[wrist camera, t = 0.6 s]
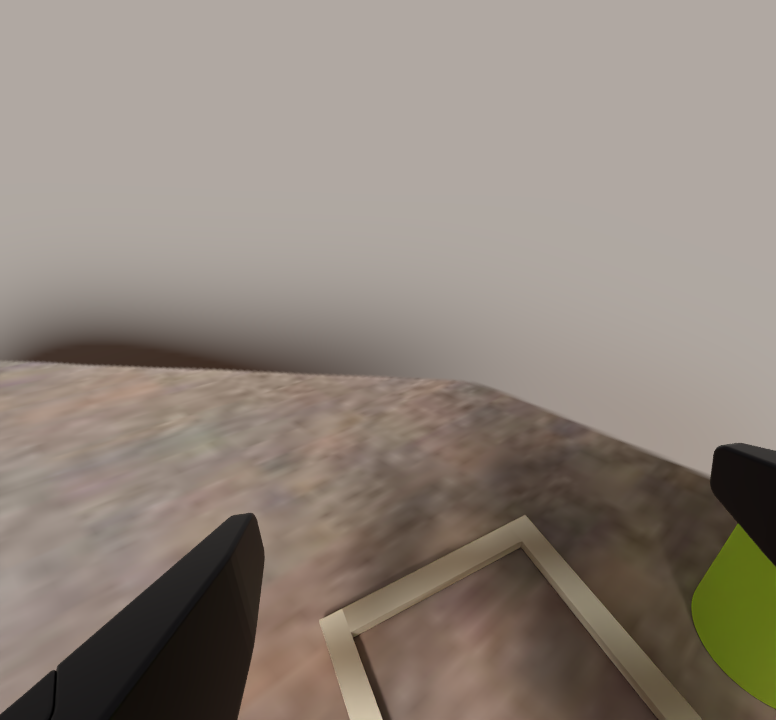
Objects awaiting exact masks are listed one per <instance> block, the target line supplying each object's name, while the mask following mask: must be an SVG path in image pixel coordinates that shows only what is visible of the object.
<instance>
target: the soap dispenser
mask: <svg viewBox="0 0 776 720" xmlns="http://www.w3.org/2000/svg"><path fill="white" fill-rule="evenodd" d="M691 609H692V617H693V622H694V625H695V628H696V631H697V633H698V635H699V637H700V639H701V641H702V643H703V645H704V646H705V648H706V650H707V651H708V653H709V654H710V655H711V657H712V658H713V659H714V661H715V662H716V663H717V664H718V665H719V667H720V668H721V669H722V670H723V671H724V672H725V673H726V674H727V675H728V676H729V677H730V678H731V679H732V680H733V681H734V682H736V683H737V684H738V685H739V686H740V687H742V688H743V689H744V690H745V691H747V692H748V693H749V694H751V695H752V696H754V697H755V698H757V699H758V700H760V701H762V702H763V703H765V704H767V705H769V706H771V707H773V708H775V709H776V567H775V566H774V565H773V564H772V562H771V561H770V560H769V559H768V558H767V557H766V556H765V554H764V553H763V552H762V551H761V550H760V549H759V547H758V546H757V545H756V544H755V543H754V541H753V540H752V539H751V538H750V537H749V536H748V534H747V533H746V532H745V531H744V530H743V528H742V527H741V526H740V525H739V524H737V525H736V527H735V529H734V530H733V532H732V533H731V535H730V536H729V538H728V540H727V541H726V543H725V544H724V546H723V547H722V549H721V550H720V552H719V554H718V555H717V557H716V558H715V560H714V561H713V563H712V565H711V566H710V568H709V569H708V571H707V572H706V574H705V576H704V577H703V579H702V580H701V582H700V583H699V585H698V587H697V588H696V590H695V592H694V594H693V598H692V605H691Z"/></svg>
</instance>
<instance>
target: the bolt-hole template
mask: <svg viewBox="0 0 776 720" xmlns="http://www.w3.org/2000/svg"><path fill="white" fill-rule="evenodd" d="M520 547H521V548H522V549H523V550H524V552H525V553H526V554H527V555H528V557H529V558H530V559H531V560H532V562H533V563H534V564H535V565H536V567H537V568H538V569H539V570H540V572H541V573H542V574H543V575H544V577H545V578H546V579H547V580H548V582H549V583H550V584H551V585H552V587H553V588H554V589H555V590H556V592H557V593H558V594H559V596H560V597H561V598H562V599H563V601H564V602H565V603H566V604H567V606H568V607H569V608H570V609H571V611H572V612H573V613H574V614H575V616H576V617H577V618H578V619H579V621H580V622H581V623H582V624H583V626H584V627H585V628H586V629H587V631H588V632H589V633H590V634H591V636H592V637H593V638H594V639H595V641H596V642H597V643H598V644H599V646H600V647H601V648H602V649H603V651H604V652H605V653H606V654H607V656H608V657H609V658H610V659H611V661H612V662H613V663H614V664H615V666H616V667H617V668H618V670H619V671H620V672H621V673H622V675H623V676H624V677H625V678H626V680H627V681H628V682H629V683H630V685H631V686H632V687H633V688H634V690H635V691H636V692H637V693H638V695H639V696H640V697H641V698H642V700H643V701H644V702H645V703H646V705H647V706H648V707H649V708H650V710H651V711H652V712H653V713H654V715H655V716H656V717H657V718H658V720H702V718H701V717H700V716H699V715H698V714H697V713H696V711H695V710H694V709H693V708H692V707H691V706H690V705H689V703H688V702H687V701H686V700H685V699H684V698H683V696H682V695H681V694H680V693H679V692H678V691H677V690H676V688H675V687H674V686H673V685H672V684H671V683H670V681H669V680H668V679H667V678H666V677H665V676H664V674H663V673H662V672H661V671H660V670H659V669H658V668H657V666H656V665H655V664H654V663H653V662H652V661H651V659H650V658H649V657H648V656H647V655H646V654H645V653H644V651H643V650H642V649H641V648H640V647H639V646H638V644H637V643H636V642H635V641H634V640H633V639H632V638H631V636H630V635H629V634H628V633H627V632H626V631H625V629H624V628H623V627H622V626H621V625H620V624H619V623H618V621H617V620H616V619H615V618H614V617H613V616H612V614H611V613H610V612H609V611H608V610H607V609H606V608H605V606H604V605H603V604H602V603H601V602H600V601H599V599H598V598H597V597H596V596H595V595H594V594H593V593H592V591H591V590H590V589H589V588H588V587H587V586H586V584H585V583H584V582H583V581H582V580H581V579H580V578H579V576H578V575H577V574H576V573H575V572H574V571H573V569H572V568H571V567H570V566H569V565H568V564H567V563H566V561H565V560H564V559H563V558H562V557H561V556H560V554H559V553H558V552H557V551H556V550H555V549H554V548H553V546H552V545H551V544H550V543H549V542H548V541H547V539H546V538H545V537H544V536H543V535H542V534H541V533H540V531H539V530H538V529H537V528H536V527H535V526H534V524H533V523H532V522H531V521H530V520H529V519H528V518H527V516H526V515H524V516H522V517H520V518H518V519H516V520H514V521H512V522H510V523H508V524H506V525H504V526H502V527H500V528H498V529H496V530H494V531H492V532H491V533H489V534H487V535H485V536H483V537H481V538H479V539H477V540H475V541H473V542H471V543H469V544H467V545H465V546H463V547H461V548H459V549H457V550H455V551H454V552H452V553H450V554H448V555H446V556H444V557H442V558H440V559H438V560H436V561H434V562H432V563H430V564H428V565H426V566H424V567H422V568H420V569H418V570H416V571H415V572H413V573H411V574H409V575H407V576H405V577H403V578H401V579H399V580H397V581H395V582H393V583H391V584H389V585H387V586H385V587H383V588H381V589H379V590H378V591H376V592H374V593H372V594H370V595H368V596H366V597H364V598H362V599H360V600H358V601H356V602H354V603H352V604H350V605H348V606H346V607H344V608H342V609H341V610H339V611H337V612H335V613H333V614H331V615H329V616H327V617H325V618H323V619H321V620H319V622H320V626H321V629H322V632H323V635H324V638H325V641H326V645H327V648H328V651H329V654H330V657H331V660H332V664H333V667H334V670H335V673H336V676H337V679H338V683H339V686H340V689H341V692H342V695H343V699H344V702H345V705H346V708H347V711H348V714H349V718H350V720H383V719H382V716H381V714H380V711H379V708H378V706H377V703H376V700H375V697H374V695H373V692H372V689H371V686H370V684H369V681H368V678H367V675H366V673H365V670H364V667H363V665H362V662H361V659H360V656H359V654H358V651H357V648H356V645H355V643H354V640H353V637H355V636H357V635H359V634H361V633H363V632H364V631H366V630H368V629H370V628H372V627H374V626H376V625H377V624H379V623H381V622H383V621H385V620H387V619H389V618H390V617H392V616H394V615H396V614H398V613H400V612H402V611H403V610H405V609H407V608H409V607H411V606H413V605H414V604H416V603H418V602H420V601H422V600H424V599H426V598H427V597H429V596H431V595H433V594H435V593H437V592H439V591H440V590H442V589H444V588H446V587H448V586H450V585H452V584H453V583H455V582H457V581H459V580H461V579H463V578H465V577H466V576H468V575H470V574H472V573H474V572H476V571H478V570H479V569H481V568H483V567H485V566H487V565H489V564H491V563H492V562H494V561H496V560H498V559H500V558H502V557H503V556H505V555H507V554H509V553H511V552H513V551H515V550H516V549H518V548H520Z"/></svg>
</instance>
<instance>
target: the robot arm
mask: <svg viewBox="0 0 776 720" xmlns="http://www.w3.org/2000/svg"><path fill="white" fill-rule="evenodd" d="M710 485H711V489H712V491H713V493H714V495H715V496H716V498H717V499H718V500H719V501H720V502H721V503H722V505H723V506H724V507H725V508H726V509H727V511H728V512H729V513H730V514H731V515H732V517H733V518H734V519H735V520H736V521H737V522H738V524H739V525H740V526H741V527H742V528H743V530H744V531H745V532H746V533H747V534H748V536H749V537H750V538H751V539H752V540H753V541H754V543H755V544H756V545H757V546H758V547H759V549H760V550H761V551H762V552H763V553H764V554H765V556H766V557H767V558H768V559H769V560H770V561H771V562H772V564H773V565H774V566H775V567H776V451H774V450H770V449H765V448H761V447H757V446H752V445H748V444H744V443H734V444H727V445H721V446H719V447H717V448H716V450H715V451H714V455H713V463H712V471H711V478H710ZM264 558H265V556H264V547H263V543H262V539H261V535H260V531H259V526H258V522H257V519H256V517H255V515H254V514H253V513H246V514H239V515H233V516H231V517H229V518H228V519H227V520H226V521H225V522H223V523H222V524H221V525H220V526H219V527H218V528H217V529H215V530H214V531H213V532H212V533H211V534H210V535H208V536H207V537H206V538H205V539H204V540H203V541H201V542H200V543H199V544H198V545H197V546H196V547H194V548H193V549H192V550H191V551H190V552H189V553H188V554H186V555H185V556H184V557H183V558H182V559H181V560H179V561H178V562H177V563H176V564H175V565H174V566H172V567H171V568H170V569H169V570H168V571H167V572H166V573H164V574H163V575H162V576H161V577H160V578H159V579H157V580H156V581H155V582H154V583H153V584H152V585H150V586H149V587H148V588H147V589H146V590H145V591H144V592H142V593H141V594H140V595H139V596H138V597H137V598H135V599H134V600H133V601H132V602H131V603H130V604H128V605H127V606H126V607H125V608H124V609H123V610H121V611H120V612H119V613H118V614H117V615H116V616H115V617H113V618H112V619H111V620H110V621H109V622H108V623H106V624H105V625H104V626H103V627H102V628H101V629H99V630H98V631H97V632H96V633H95V634H94V635H92V636H91V637H90V638H89V639H88V640H87V641H86V642H84V643H83V644H82V645H81V646H80V647H79V648H77V649H76V650H75V651H74V652H73V653H72V654H70V655H69V656H68V657H67V658H66V659H65V660H63V661H62V662H61V663H60V664H59V665H58V666H57V671H55V670H52V671H51V672H49V673H48V674H47V675H46V676H45V677H44V678H42V679H41V680H40V681H39V682H38V683H37V684H36V685H34V686H33V687H32V688H31V689H30V690H29V691H27V692H26V693H25V694H24V695H23V696H22V697H20V698H19V699H18V700H17V701H16V702H14V703H13V704H12V705H11V706H10V707H8V708H7V709H6V710H5V711H4V712H2V713H1V714H0V720H237V719H238V714H239V710H240V706H241V701H242V697H243V693H244V688H245V684H246V680H247V675H248V671H249V667H250V662H251V658H252V653H253V648H254V642H255V635H256V627H257V619H258V611H259V603H260V594H261V586H262V578H263V569H264Z"/></svg>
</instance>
